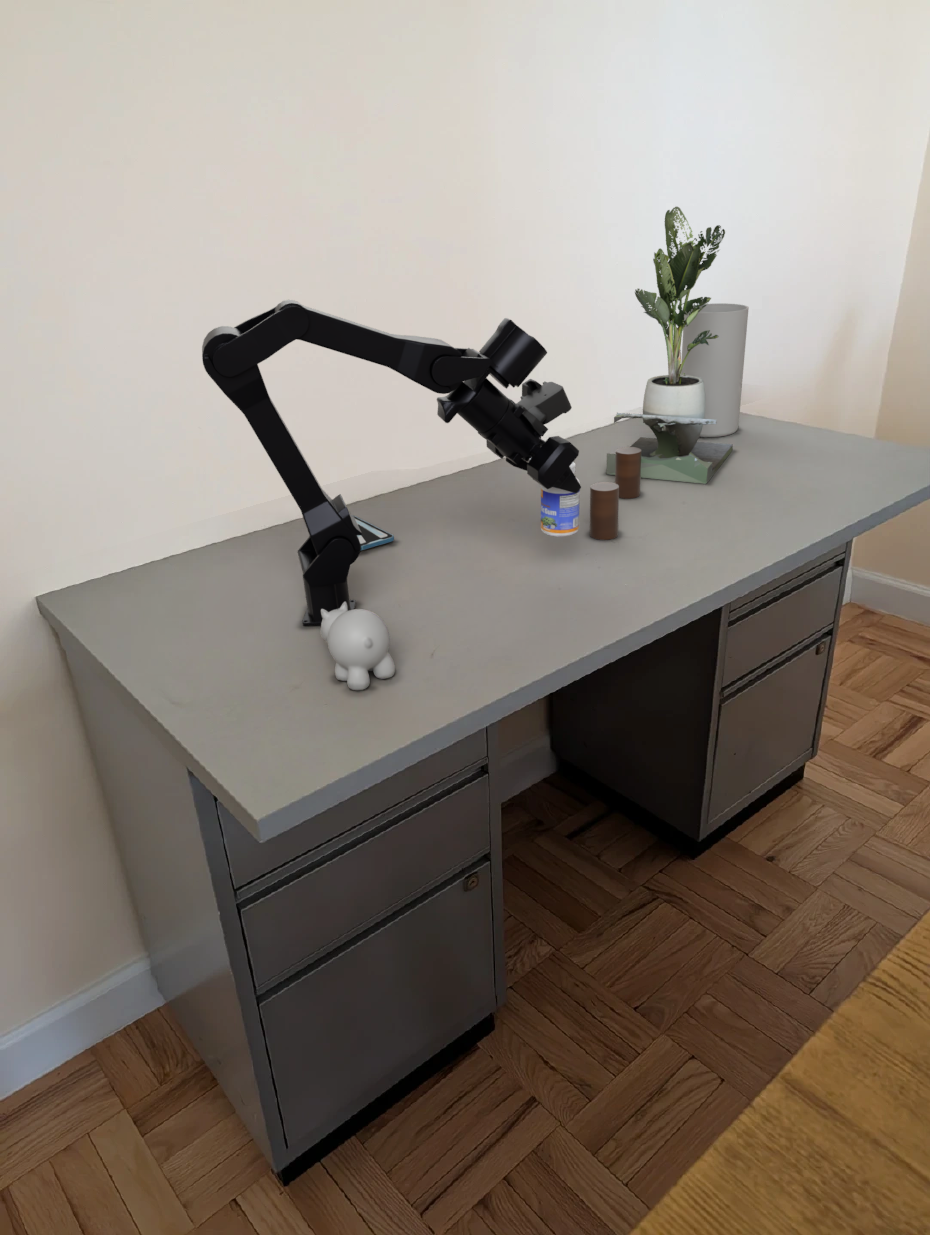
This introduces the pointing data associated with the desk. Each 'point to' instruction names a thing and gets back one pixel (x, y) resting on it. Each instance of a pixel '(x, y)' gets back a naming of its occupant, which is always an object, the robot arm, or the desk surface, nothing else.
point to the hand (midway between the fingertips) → (569, 484)
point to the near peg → (604, 510)
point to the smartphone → (372, 535)
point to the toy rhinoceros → (357, 645)
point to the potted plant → (677, 369)
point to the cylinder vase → (718, 363)
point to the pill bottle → (560, 510)
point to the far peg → (628, 471)
